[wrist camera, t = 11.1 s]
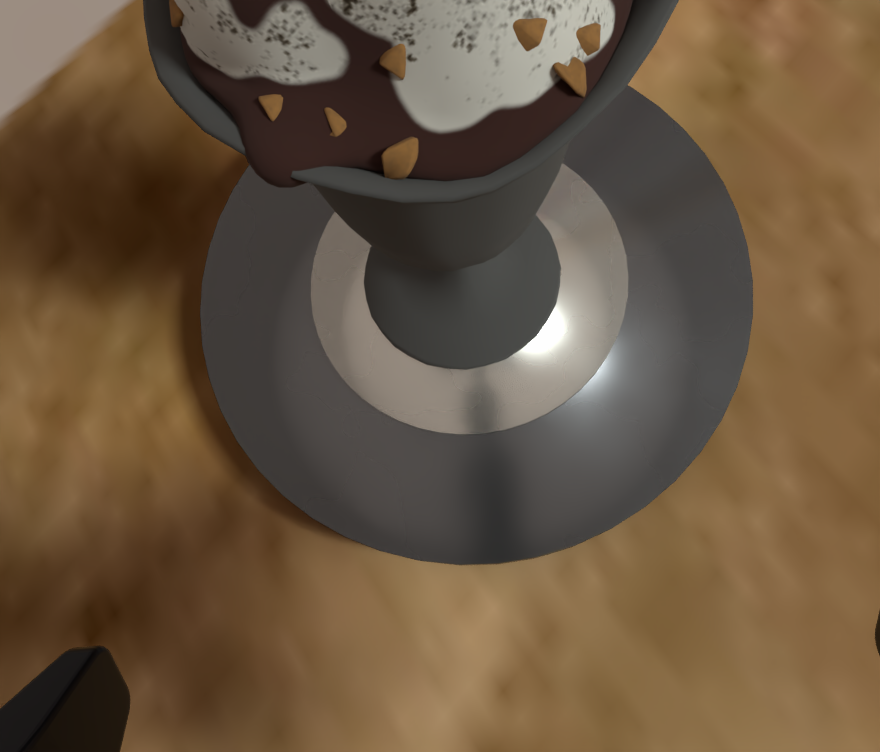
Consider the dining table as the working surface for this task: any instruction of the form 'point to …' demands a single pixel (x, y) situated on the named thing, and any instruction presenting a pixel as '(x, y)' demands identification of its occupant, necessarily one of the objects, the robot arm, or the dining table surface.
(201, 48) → the sundae
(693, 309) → the plate
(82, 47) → the dining table surface
